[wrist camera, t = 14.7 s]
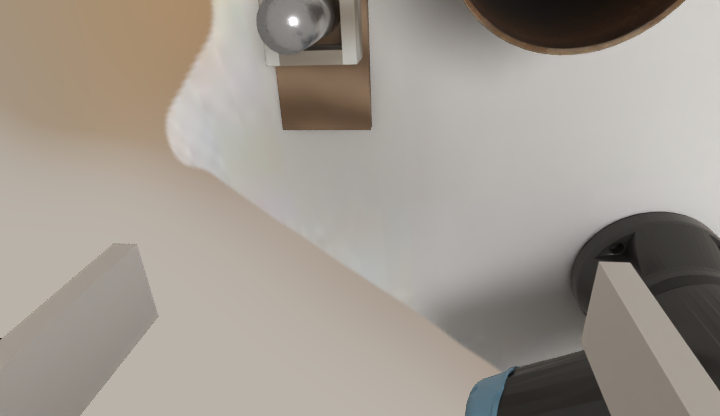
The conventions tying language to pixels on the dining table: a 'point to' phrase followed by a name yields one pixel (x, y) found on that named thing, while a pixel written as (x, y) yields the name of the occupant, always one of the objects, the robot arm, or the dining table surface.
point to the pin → (296, 23)
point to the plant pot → (569, 22)
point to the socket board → (328, 77)
